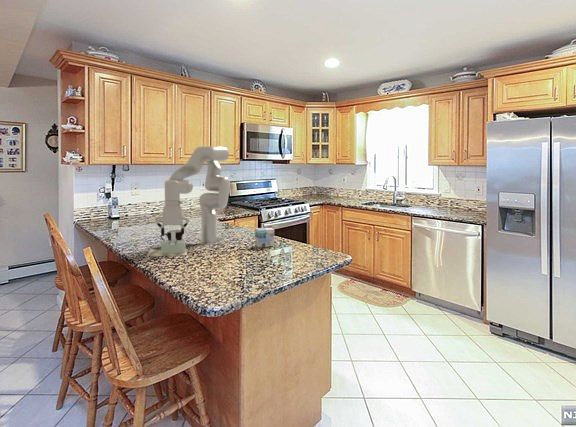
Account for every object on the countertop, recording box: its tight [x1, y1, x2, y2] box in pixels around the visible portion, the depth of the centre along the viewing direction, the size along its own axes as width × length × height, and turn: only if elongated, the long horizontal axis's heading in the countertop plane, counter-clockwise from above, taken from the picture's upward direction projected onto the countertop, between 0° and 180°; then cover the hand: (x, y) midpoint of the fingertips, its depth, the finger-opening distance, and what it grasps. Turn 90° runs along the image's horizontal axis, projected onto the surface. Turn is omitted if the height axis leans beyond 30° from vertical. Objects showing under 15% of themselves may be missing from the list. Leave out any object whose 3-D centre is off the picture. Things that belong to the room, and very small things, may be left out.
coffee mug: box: [160, 229, 183, 241], centre depth 209 cm, size 12×9×10 cm
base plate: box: [146, 248, 188, 257], centre depth 192 cm, size 20×14×2 cm
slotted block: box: [160, 239, 187, 254], centre depth 192 cm, size 12×6×6 cm, turn 103°
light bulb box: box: [254, 227, 275, 248], centre depth 218 cm, size 11×7×11 cm, turn 112°
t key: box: [170, 232, 177, 245], centre depth 192 cm, size 2×10×6 cm, turn 13°
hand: (172, 235), depth 191 cm, fingers open, 9 cm apart
